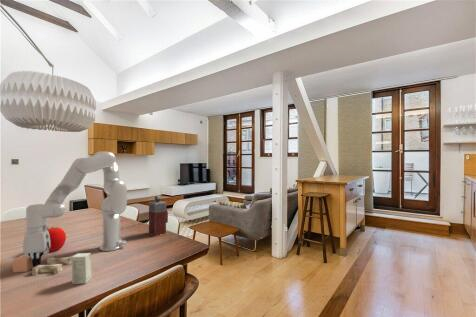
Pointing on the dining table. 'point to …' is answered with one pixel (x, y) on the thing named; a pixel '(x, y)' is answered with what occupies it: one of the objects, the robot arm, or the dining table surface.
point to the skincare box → (81, 268)
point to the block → (22, 263)
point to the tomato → (56, 238)
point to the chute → (52, 265)
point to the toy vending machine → (157, 217)
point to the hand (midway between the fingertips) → (36, 265)
